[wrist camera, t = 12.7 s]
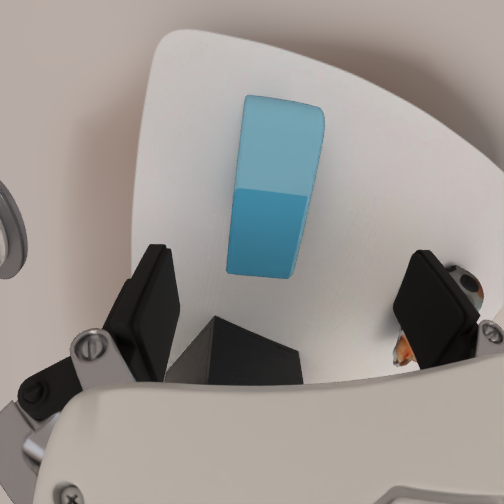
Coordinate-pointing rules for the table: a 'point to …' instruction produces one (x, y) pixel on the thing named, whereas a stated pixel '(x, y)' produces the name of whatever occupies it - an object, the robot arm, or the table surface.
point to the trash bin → (235, 359)
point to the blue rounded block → (273, 185)
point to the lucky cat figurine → (472, 291)
